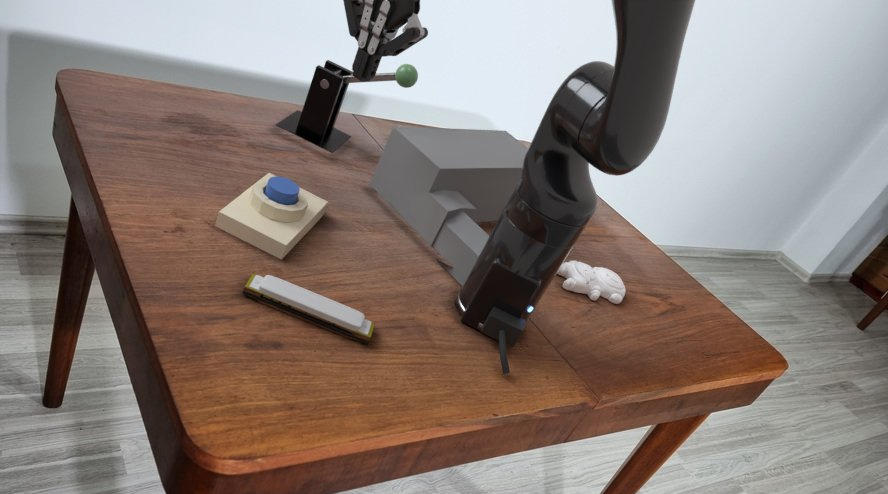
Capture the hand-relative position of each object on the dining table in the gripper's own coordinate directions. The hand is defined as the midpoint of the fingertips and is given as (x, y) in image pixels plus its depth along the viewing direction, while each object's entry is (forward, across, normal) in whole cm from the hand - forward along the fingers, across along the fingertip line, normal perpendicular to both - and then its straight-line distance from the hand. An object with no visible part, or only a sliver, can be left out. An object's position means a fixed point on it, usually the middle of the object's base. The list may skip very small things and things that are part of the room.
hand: (361, 78), depth 91 cm
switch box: (+18, +2, -12) cm, 21 cm away
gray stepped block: (+18, +16, +18) cm, 30 cm away
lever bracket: (+18, -14, +12) cm, 25 cm away
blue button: (+14, +2, -12) cm, 19 cm away
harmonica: (+18, +18, -21) cm, 33 cm away
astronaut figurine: (+18, +33, +26) cm, 46 cm away
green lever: (+7, -8, +14) cm, 18 cm away
